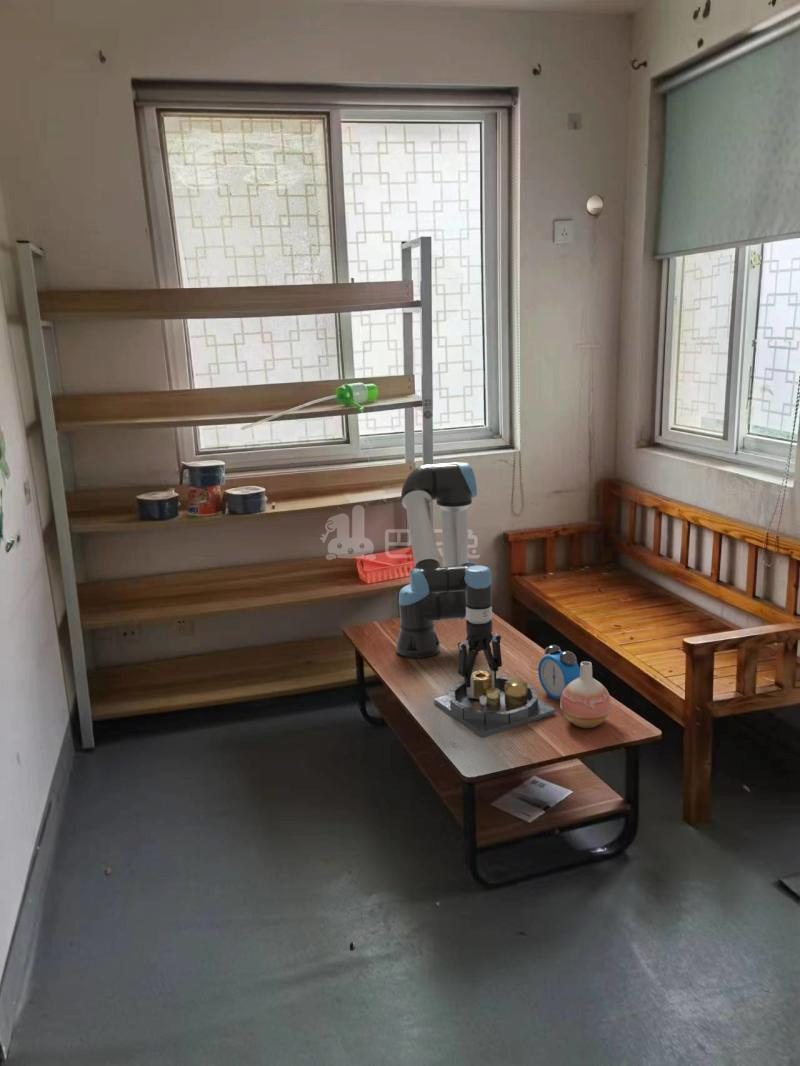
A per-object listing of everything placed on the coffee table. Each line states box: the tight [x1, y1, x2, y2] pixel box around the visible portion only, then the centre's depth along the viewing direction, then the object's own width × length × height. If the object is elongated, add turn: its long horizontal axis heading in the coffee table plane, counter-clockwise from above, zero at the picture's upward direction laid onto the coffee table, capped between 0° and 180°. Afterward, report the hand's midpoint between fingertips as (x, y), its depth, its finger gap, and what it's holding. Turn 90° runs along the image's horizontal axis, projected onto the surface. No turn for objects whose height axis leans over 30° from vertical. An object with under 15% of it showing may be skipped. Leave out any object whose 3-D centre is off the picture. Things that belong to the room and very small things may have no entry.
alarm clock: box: [537, 644, 580, 700], centre depth 235 cm, size 13×6×15 cm, turn 30°
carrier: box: [433, 675, 557, 738], centre depth 230 cm, size 25×25×8 cm
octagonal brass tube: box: [471, 670, 493, 699], centre depth 235 cm, size 6×6×6 cm
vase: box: [559, 660, 612, 729], centre depth 218 cm, size 14×14×18 cm
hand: (480, 693), depth 236 cm, fingers closed on octagonal brass tube, 6 cm apart
